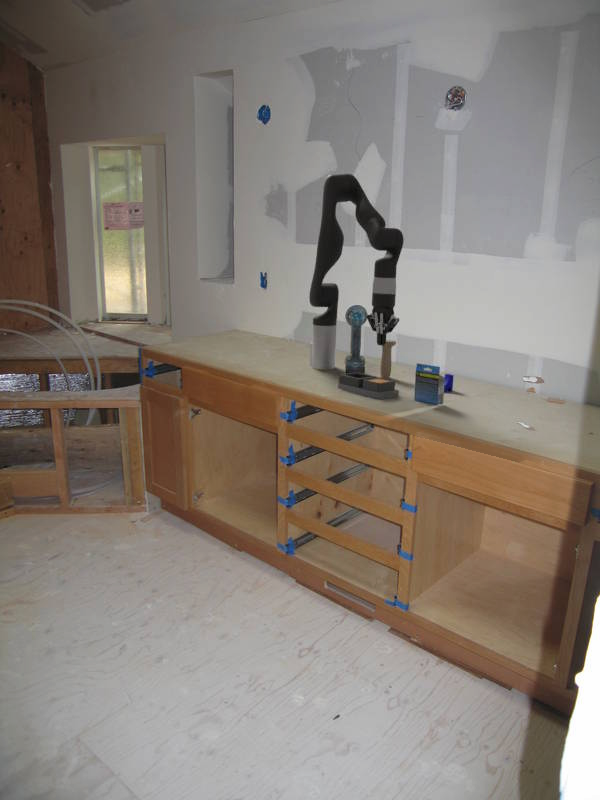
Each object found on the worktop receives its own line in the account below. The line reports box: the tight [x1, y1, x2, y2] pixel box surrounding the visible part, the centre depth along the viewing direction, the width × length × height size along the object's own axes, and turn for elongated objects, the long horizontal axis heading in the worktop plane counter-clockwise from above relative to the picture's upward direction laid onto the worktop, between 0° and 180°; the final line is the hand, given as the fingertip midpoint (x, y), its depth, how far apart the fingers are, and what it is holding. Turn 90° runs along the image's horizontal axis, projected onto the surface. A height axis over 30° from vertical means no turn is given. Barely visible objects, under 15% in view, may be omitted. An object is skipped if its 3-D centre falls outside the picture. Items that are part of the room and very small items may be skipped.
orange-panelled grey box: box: [337, 371, 400, 400], centre depth 217 cm, size 20×9×5 cm, turn 40°
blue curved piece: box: [444, 373, 454, 393], centre depth 221 cm, size 12×4×6 cm, turn 108°
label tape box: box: [413, 362, 445, 405], centre depth 205 cm, size 9×4×12 cm, turn 48°
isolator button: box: [368, 379, 389, 383], centre depth 213 cm, size 6×6×2 cm
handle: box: [380, 339, 397, 380], centre depth 237 cm, size 5×6×15 cm
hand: (381, 344), depth 210 cm, fingers closed
